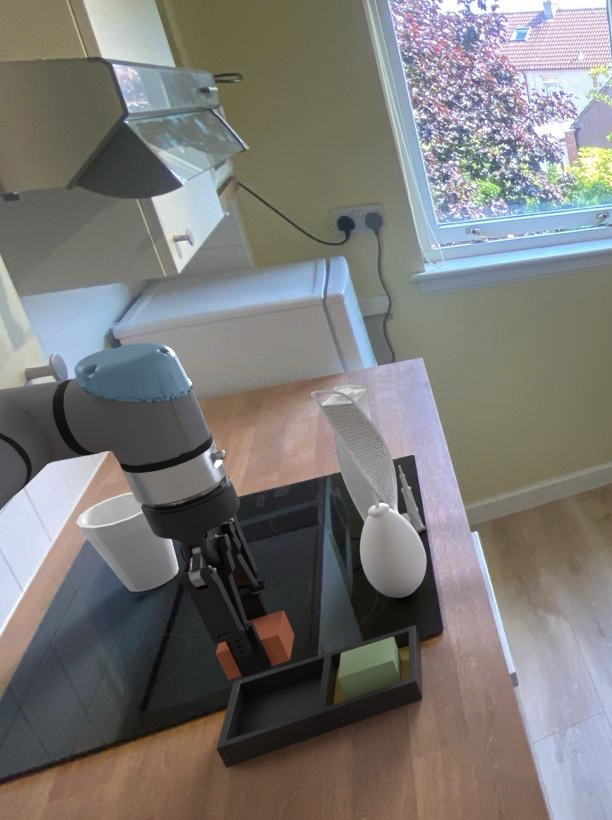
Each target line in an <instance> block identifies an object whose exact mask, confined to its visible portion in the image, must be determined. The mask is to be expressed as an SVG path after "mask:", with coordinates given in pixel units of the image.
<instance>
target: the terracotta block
mask: <svg viewBox="0 0 612 820" xmlns="http://www.w3.org/2000/svg"><path fill="white" fill-rule="evenodd" d="M289 621H290V620H289V619H288V617H287V615H286V611H285V610H284V609H283V610H279V611H276V612H272V613H269V615H265V616H262V617H259V618H255V619H252V620H248V622H253V624H254V626H255V628H256V630H257V633H258V635H259V637H260V639H261V642H262V644H263V646H264V649H265V651H266V653H267V655H268V658H269V660H270V662H271V664H272V665H271V667H273V666H276V665H280V664H282V663H286V662H289V661H291V656H292V651H293V645H294V639H295V633H294V630H293V628H292V626H291V624H290V622H289ZM215 655H216V657H217V660H218V661H219V664H220V666H221V668H222V670H223V671H224V674H225V676H226V677H227V680H233V679H235V678H239V677H242V675H241V673H240V671H239V669H238V667H237V665H236V663H235V661H234V658H233V656H232V654H231V652H230V650H229V648H228V646H227V644H226V642H222V643H219V644H217V648H216V651H215Z"/></svg>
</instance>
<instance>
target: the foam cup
mask: <svg viewBox="0 0 612 820" xmlns="http://www.w3.org/2000/svg"><path fill="white" fill-rule="evenodd" d="M141 505H142V504H141V503H139V502H138V501H137V500H136V499H135V497H134V495H133V492H132V491H131V492H125V493H123V494H122V493H121V494H119V495H116V496H113V497H109V498H107V499H104V500H102V501H100V502H98V503H96V504H94V505H91V506H90V507H88V508H87V509H86V510H85V511H83V512H82V513H81V514H79V516H78V517H77V520H76V522H75V523H76V524H75V525H77V528H78V529H79V531H80V533H81V535H82V537H84V539H85V540H87V541H88V542H89V543H90V544H91V545H92V546H93V548H94V549H95V550H96V551H97V552H98V554H99V555H100V556H101V558H102V559H103V560H104V562H105V563H106V565H108V566H109V568H110V569H111V571H113V573H114V574H115V575H116V577H117V578H118V579H119V580H120V582H121V583H122V584H123V585H124V587H126V589H128V591H130V592H132V593H133V592H135V593H140V592H146V591H151V590H152V589H156V588H158V587H160V586H162V585H164V584H166V583H167V582H169V581H170V580H172V579H174V578H175V576H177V574H178V573H179V569H180V567H179V564H178V560H177V556H176V551H175V548H174V544H173V539H164V538H160V537H158V536H156V535H155V534H154V533H153V532H152V530H151V528H150V526H149V524H148V522H147V520H146V518H145V515H144V513H143V511H142V509H141Z"/></svg>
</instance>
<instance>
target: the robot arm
mask: <svg viewBox="0 0 612 820" xmlns="http://www.w3.org/2000/svg"><path fill="white" fill-rule="evenodd" d="M74 374H75V377H74V378H69V379H63V380H56V381H49V382H42V383H36V384H29V385H22V386H21V385H20V386H15V387H7V388H1V389H0V511H2V510H3V508H4V507H5V506H6V505H7V504H8V503H9V502H10V501H11V500H12V499H13V498H14V497H15V496H16V495H17V494H19V493H20V492H21V491H22V490H23V489H25V487H26V486H27V485H29V483H31V481H32V480H33V479H34V478H36V477H37V475H39V473H40V472H41V471H43V469H44V468H46V466H47V465H49V464H51V463H56V462H60V461H66V460H71V459H78V458H81V457H82V458H83V457H87V456H92V455H93V456H94V455H97V454H102V453H104V452H105V453H106V452H111V453H112V454H113V456H114V457H115V459H116V461H117V462H118V464H119V466H120V469H121V471H122V473H123V476H124V478H125V480H126V482H127V484H128V486H129V489H130V490H131V492H133V495H134V497H135V499H136V500H137V501H138V502H139V503H141V504H142V505H141V509H142V511H143V513H144V515H145V518H146V520H147V522H148V524H149V526H150V528H151V530H152V532H153V533H154V534H155V535H156V536H158V537H160V538H164V539H172V541H173V540H174V541H177V542H180V543H181V545H180V547H179V552H180V555H181V557H182V560H183V561H184V562H185V563H187V565H188V568H189V570H188V571H184V572H180V574H179V582H180V584H181V585H182V587H184V589H185V590H186V591H187V593H188V594H189V596H190V598H191V599H192V602H193V604H194V606H195V607H196V610H197V612H198V613H199V615H200V617H201V619H202V622H203V625H205V628H206V630H207V632H208V634H209V636H210V640H211V641H212V642H213V644H214V645H219V643H222V642H226V644H227V646H228V648H229V650H230V652H231V654H232V656H233V658H234V661H235V663H236V665H237V667H238V669H239V671H240V673H241V675H242V676H241V678H247V677H250V676H253V675H257V674H260V673H263V672H266V671H269V670H272V666H271V665H272V664H271V662H270V660H269V658H268V655H267V653H266V651H265V649H264V646H263V644H262V642H261V639H260V637H259V635H258V633H257V630H256V628H255V626H254V624H253V622H248V620H252V619H255V618H259V617H262V616H265V615H269V614H270V613H269V611H268V609H267V605H266V603H265V602H264V599H263V597H262V595H261V593H260V592H261V591H264V590H266V589H267V583H266V580H261V581H258V580H257V579H259V578H260V575H261V573H260V570H259V568H258V566H257V563H256V561H255V559H254V557H253V554H252V551H251V549H250V547H249V545H248V542H247V540H246V538H245V535H244V532H243V530H242V528H241V526H240V523H239V521H238V516H237V513H238V510H239V509H240V506H241V501H240V498H239V496H238V493H237V491H236V489H235V486H234V484H233V482H232V479H231V477H230V476H228V475H226V474H227V470H226V466H225V464H224V462H223V460H224V459H226V458H227V453H226V451H225V450H223V449H222V450H218V449H217V446H216V443H215V440H214V438H213V435H212V433H211V432H210V431H211V430H210V428H209V426H208V424H207V421H206V419H205V416H204V413H203V411H202V408H201V405H200V403H199V401H198V397H197V396H196V393H195V391H194V385H193V382H192V380H191V379H190V378H189V377H188V375H187V374H186V371H185V369H184V367H183V365H182V363H181V362H180V360H179V358H178V356H177V354H176V352H175V351H174V350H173V349H172V348H171V347H169V346H167V345H165V344H163V343H158V342H136V343H128V344H122V345H120V346H117V347H114V348H105V349H102V350H100V351H97V352H94V353H92V354H89V355H87V356H85V357H83V358H82V359H80V360H79V361H78V362H77V363H76V364H75V366H74ZM257 592H258V593H257Z"/></svg>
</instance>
